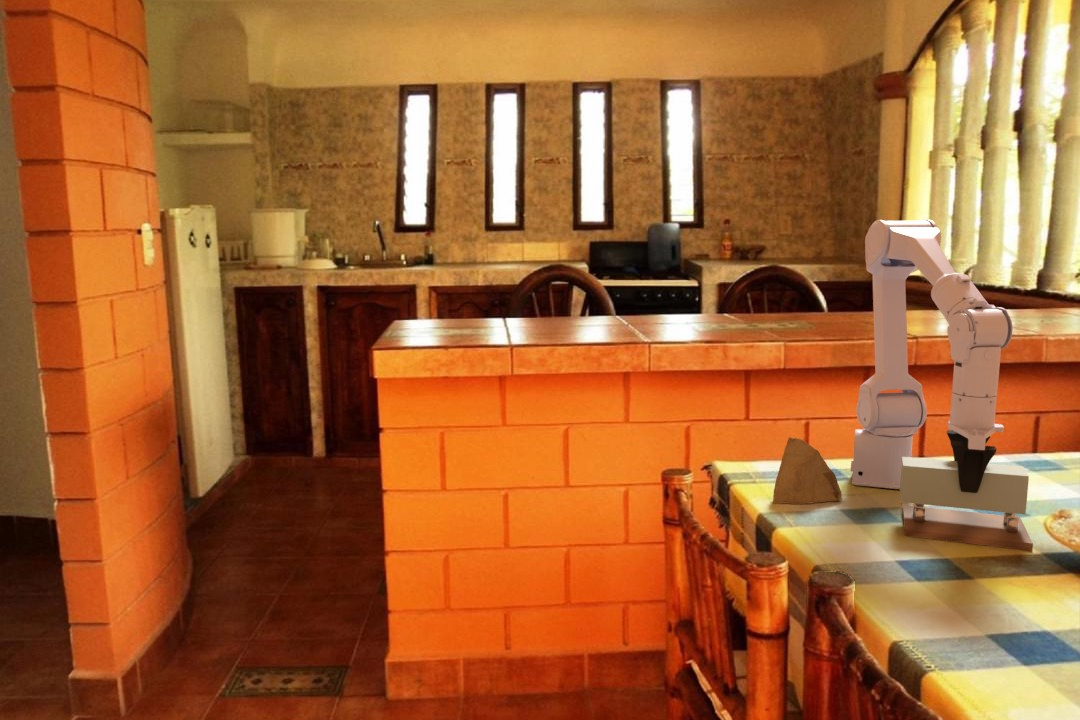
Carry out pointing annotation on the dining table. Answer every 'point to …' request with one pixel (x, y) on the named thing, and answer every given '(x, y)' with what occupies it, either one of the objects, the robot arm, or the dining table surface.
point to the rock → (804, 476)
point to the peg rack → (966, 527)
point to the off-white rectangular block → (942, 488)
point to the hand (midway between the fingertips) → (966, 486)
